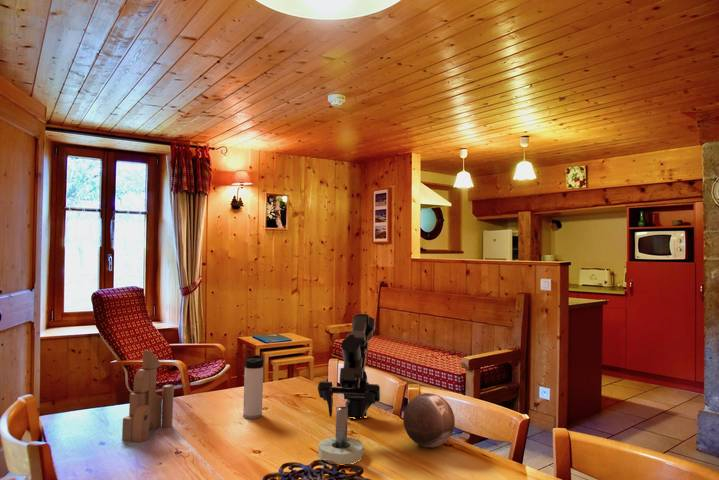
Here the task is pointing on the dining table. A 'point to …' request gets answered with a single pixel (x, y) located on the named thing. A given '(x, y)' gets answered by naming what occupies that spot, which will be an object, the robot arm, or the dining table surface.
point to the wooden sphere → (428, 420)
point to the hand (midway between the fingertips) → (345, 417)
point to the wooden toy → (147, 403)
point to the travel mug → (253, 387)
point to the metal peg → (341, 427)
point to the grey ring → (341, 451)
